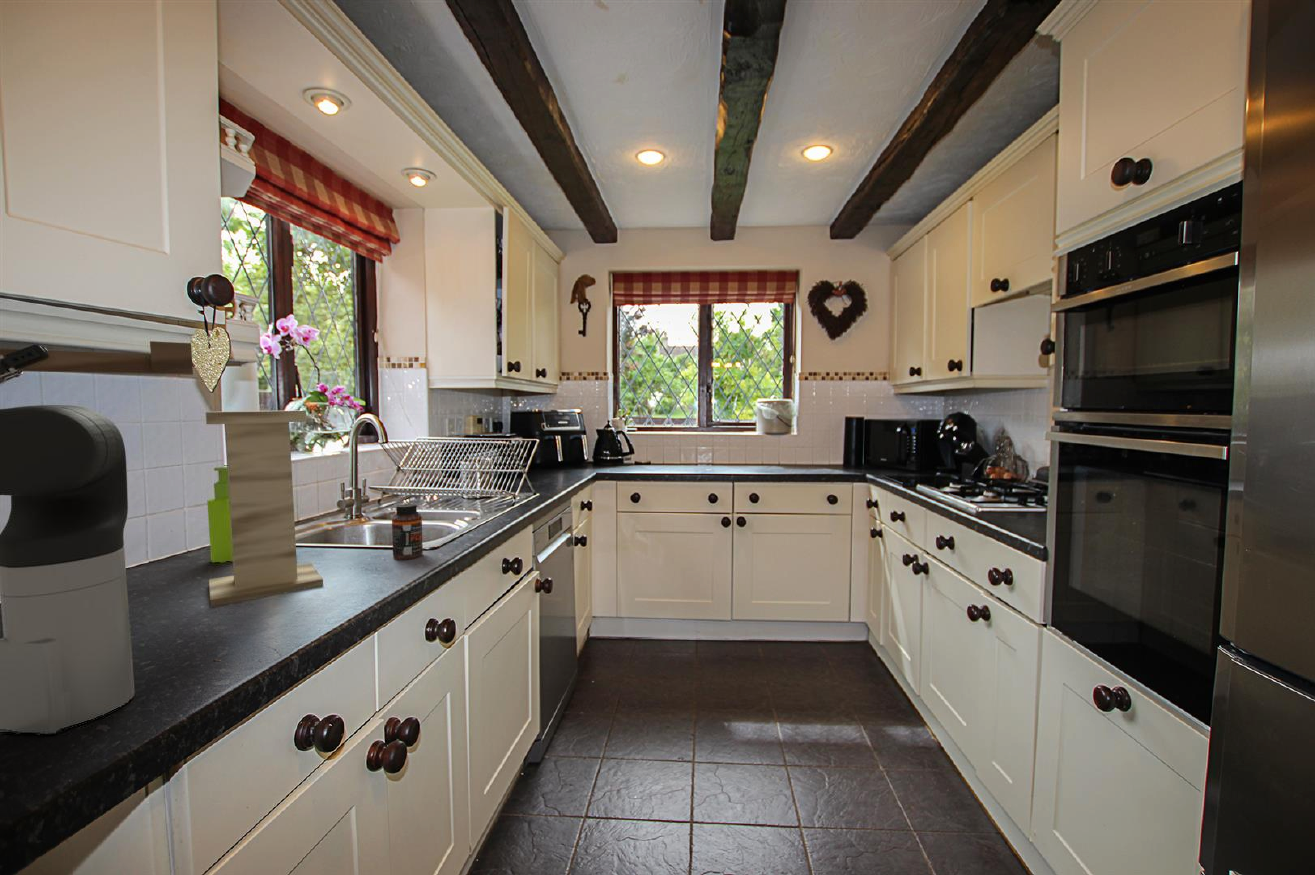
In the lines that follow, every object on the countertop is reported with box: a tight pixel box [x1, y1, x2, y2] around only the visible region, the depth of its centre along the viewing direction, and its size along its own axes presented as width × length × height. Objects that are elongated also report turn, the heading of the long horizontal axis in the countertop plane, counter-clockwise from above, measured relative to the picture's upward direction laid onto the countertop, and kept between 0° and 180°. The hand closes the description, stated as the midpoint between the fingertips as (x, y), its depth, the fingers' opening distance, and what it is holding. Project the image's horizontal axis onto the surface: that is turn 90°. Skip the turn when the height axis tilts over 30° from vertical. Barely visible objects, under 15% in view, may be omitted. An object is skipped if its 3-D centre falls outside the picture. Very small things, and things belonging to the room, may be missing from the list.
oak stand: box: [205, 409, 324, 608], centre depth 100 cm, size 14×16×32 cm
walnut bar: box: [0, 340, 194, 376], centre depth 86 cm, size 5×22×5 cm, turn 130°
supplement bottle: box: [391, 503, 424, 560], centre depth 119 cm, size 6×6×11 cm
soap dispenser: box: [207, 466, 233, 563], centre depth 118 cm, size 6×7×20 cm
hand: (45, 351), depth 82 cm, fingers closed on walnut bar, 3 cm apart
